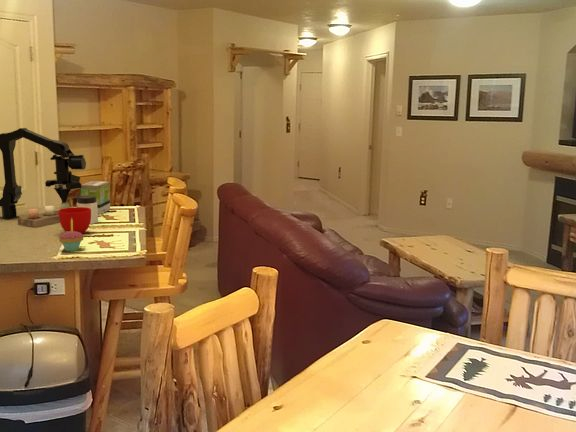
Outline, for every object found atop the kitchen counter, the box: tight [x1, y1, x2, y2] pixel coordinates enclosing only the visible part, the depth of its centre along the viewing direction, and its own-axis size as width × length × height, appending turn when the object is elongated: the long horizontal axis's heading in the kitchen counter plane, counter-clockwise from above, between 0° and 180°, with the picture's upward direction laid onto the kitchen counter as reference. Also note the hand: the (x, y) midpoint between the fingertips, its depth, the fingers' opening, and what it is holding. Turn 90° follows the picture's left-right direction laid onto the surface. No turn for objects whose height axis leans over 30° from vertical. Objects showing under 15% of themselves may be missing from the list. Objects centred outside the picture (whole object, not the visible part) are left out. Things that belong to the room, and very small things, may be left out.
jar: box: [76, 195, 99, 225], centre depth 272 cm, size 9×8×12 cm
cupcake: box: [58, 218, 84, 252], centre depth 224 cm, size 9×8×12 cm
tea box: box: [80, 180, 111, 216], centre depth 297 cm, size 15×10×15 cm
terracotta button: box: [27, 207, 40, 219], centre depth 268 cm, size 4×4×4 cm
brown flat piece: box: [17, 209, 60, 228], centre depth 276 cm, size 12×25×3 cm, turn 149°
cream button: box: [44, 205, 56, 216], centre depth 275 cm, size 4×4×4 cm
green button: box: [59, 202, 71, 209], centre depth 282 cm, size 4×4×4 cm
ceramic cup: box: [57, 206, 91, 235], centre depth 253 cm, size 13×17×10 cm
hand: (64, 202), depth 282 cm, fingers closed
